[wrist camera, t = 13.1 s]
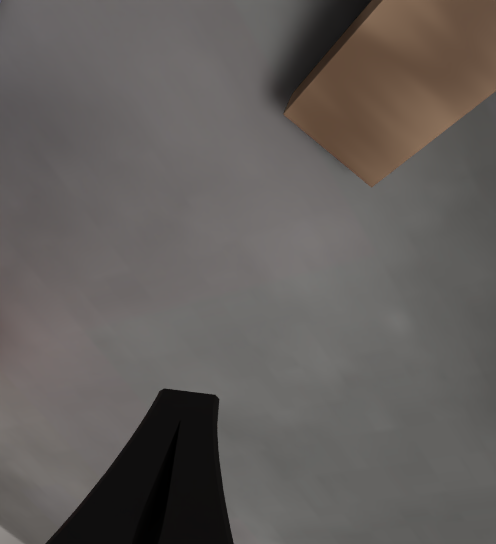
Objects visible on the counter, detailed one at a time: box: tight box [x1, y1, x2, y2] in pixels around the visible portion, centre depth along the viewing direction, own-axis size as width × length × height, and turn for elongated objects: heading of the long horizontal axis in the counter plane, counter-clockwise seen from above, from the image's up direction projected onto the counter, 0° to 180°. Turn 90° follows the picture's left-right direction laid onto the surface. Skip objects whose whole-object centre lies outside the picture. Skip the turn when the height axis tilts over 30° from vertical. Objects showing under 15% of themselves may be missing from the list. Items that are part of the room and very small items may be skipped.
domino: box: [284, 0, 496, 187], centre depth 13 cm, size 4×2×7 cm
